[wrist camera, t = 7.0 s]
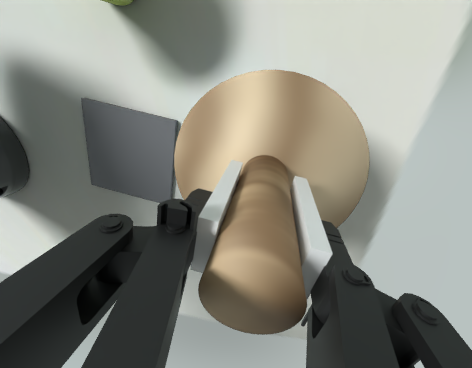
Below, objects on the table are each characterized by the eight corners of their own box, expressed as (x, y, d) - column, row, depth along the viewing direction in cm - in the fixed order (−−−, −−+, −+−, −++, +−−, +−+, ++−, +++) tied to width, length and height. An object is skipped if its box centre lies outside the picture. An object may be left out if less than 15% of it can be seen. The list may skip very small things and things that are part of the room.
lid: (176, 217, 20) (76, 350, 10) (191, 50, 14) (-28, -41, 4) (318, 256, 20) (367, 444, 9) (401, 97, 13) (818, 137, 3)
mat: (94, 183, 31) (91, 184, 31) (84, 97, 26) (81, 98, 25) (171, 203, 31) (169, 205, 30) (177, 120, 25) (175, 121, 25)
